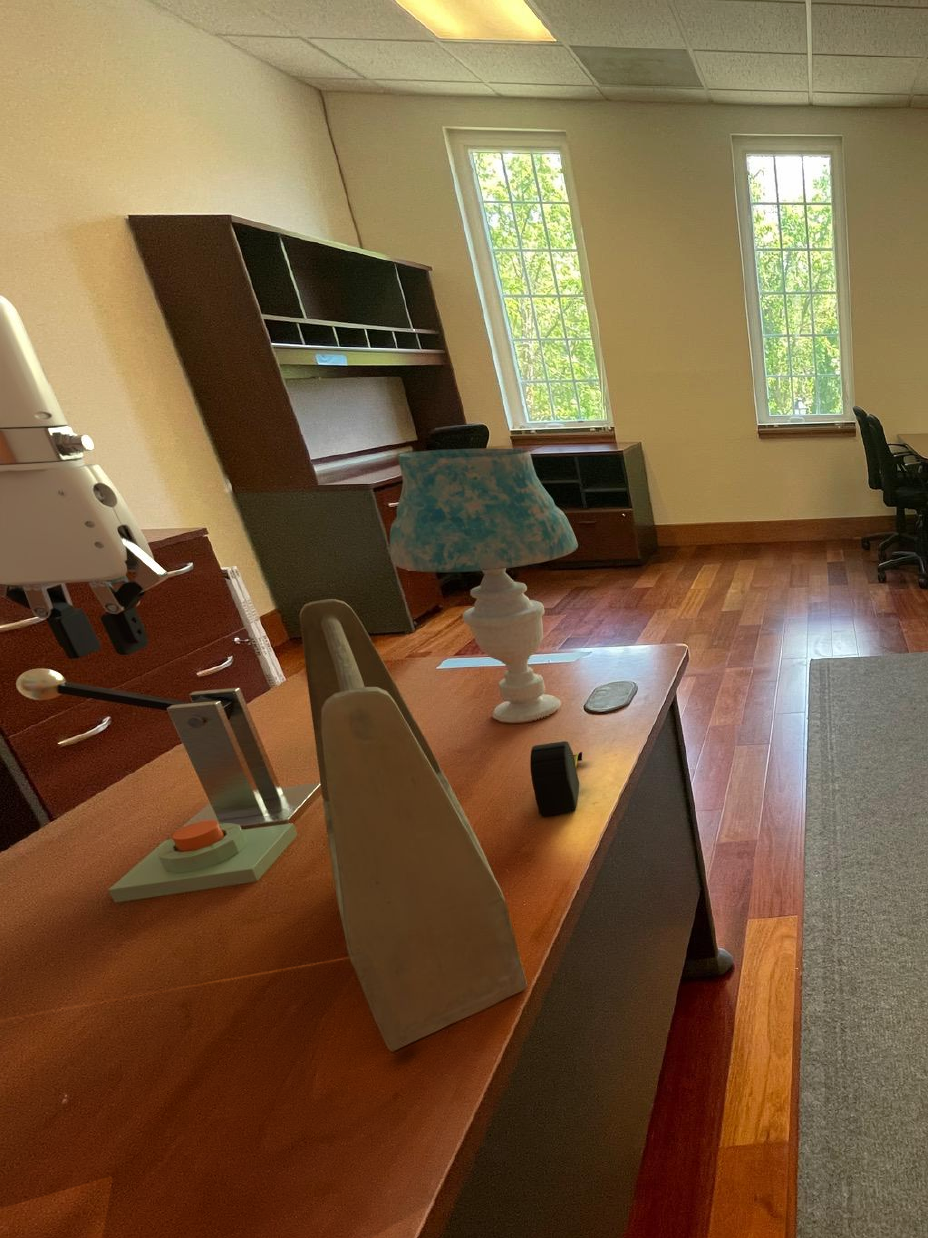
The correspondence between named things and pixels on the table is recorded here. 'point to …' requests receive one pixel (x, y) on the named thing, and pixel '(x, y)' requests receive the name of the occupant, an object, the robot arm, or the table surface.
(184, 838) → the button
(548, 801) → the tape measure
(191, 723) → the bracket
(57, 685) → the lever
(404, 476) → the table lamp
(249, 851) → the button box
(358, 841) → the caddy
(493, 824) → the table surface
